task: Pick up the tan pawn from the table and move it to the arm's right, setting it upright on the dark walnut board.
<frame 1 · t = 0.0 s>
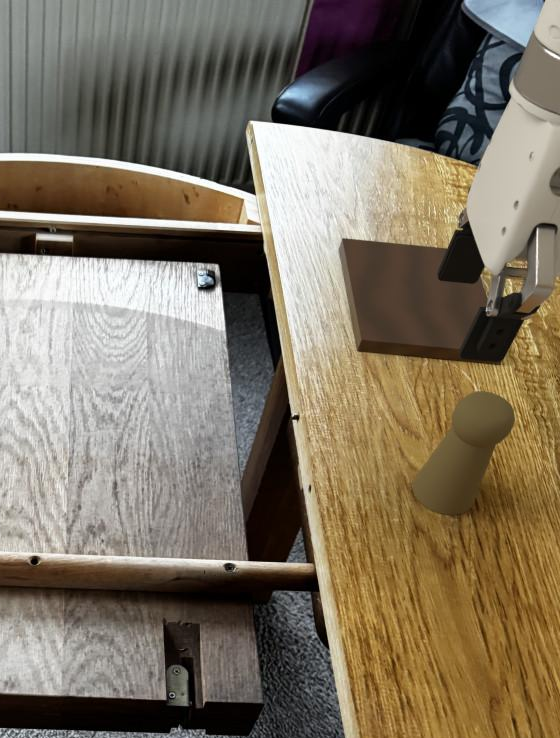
hand: (467, 317, 71), 21 cm above the table, tool pointing down, fingers open, 9 cm apart
tan pawn: (442, 493, 90), on the table
walnut board: (415, 303, 108), on the table
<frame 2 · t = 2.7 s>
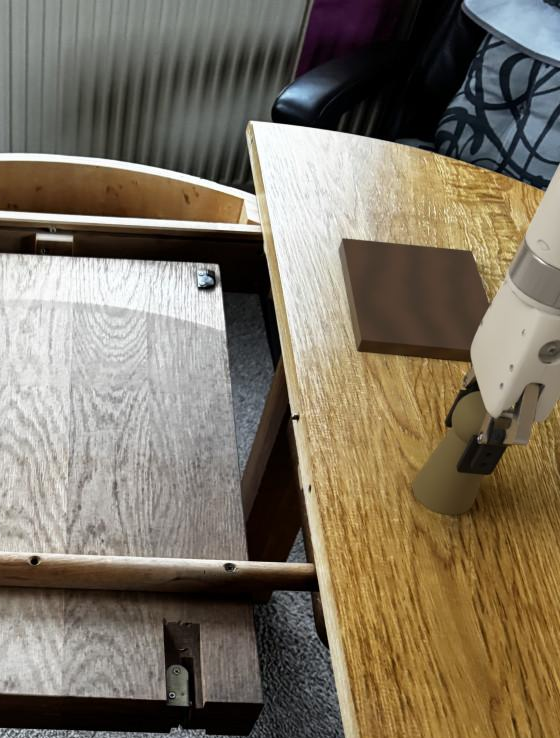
hand: (467, 447, 85), 6 cm above the table, tool pointing down, fingers closed on tan pawn, 5 cm apart
tan pawn: (442, 493, 90), on the table, touching gripper
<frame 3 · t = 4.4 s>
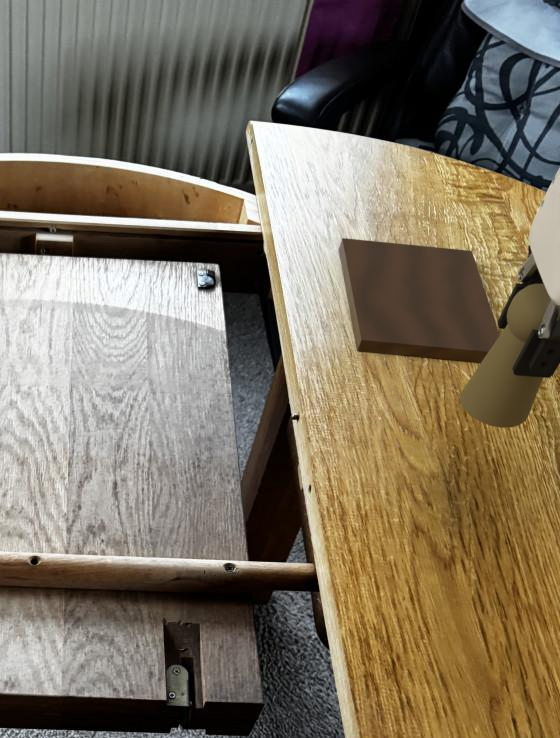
hand: (523, 348, 77), 17 cm above the table, tool pointing down, fingers closed on tan pawn, 5 cm apart
tan pawn: (493, 406, 82), point 10 cm above the table, touching gripper
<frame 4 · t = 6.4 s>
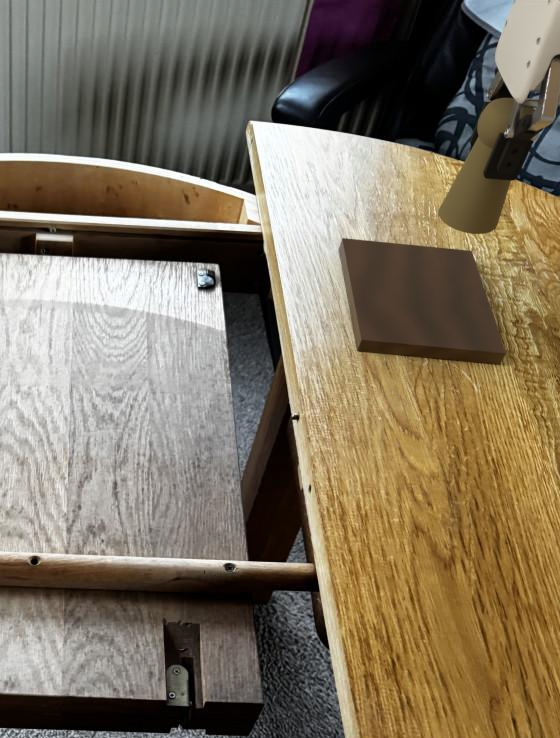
hand: (492, 160, 90), 19 cm above the table, tool pointing down, fingers closed on tan pawn, 5 cm apart
tan pawn: (466, 219, 95), point 13 cm above the table, touching gripper
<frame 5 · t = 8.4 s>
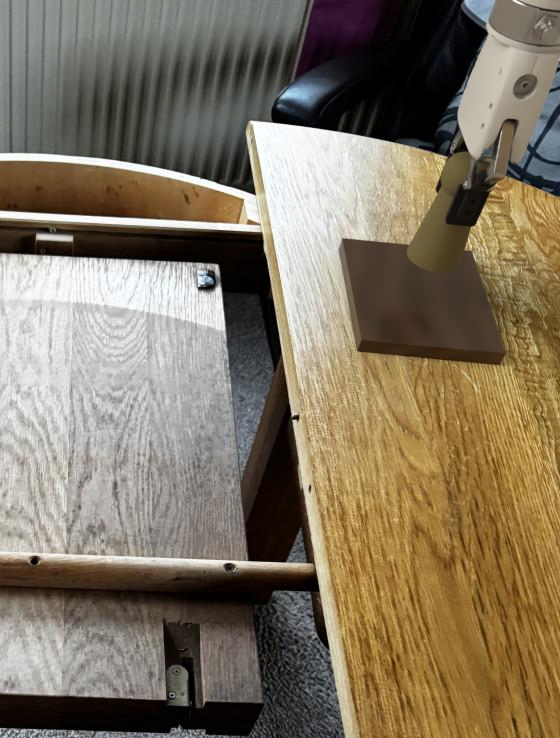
hand: (454, 206, 99), 12 cm above the table, tool pointing down, fingers closed on tan pawn, 5 cm apart
tan pawn: (432, 258, 104), point 6 cm above the table, touching gripper
when the fingers open (7 cm above the table, at t = 10.0 s): tan pawn stays where it is, resting on walnut board.
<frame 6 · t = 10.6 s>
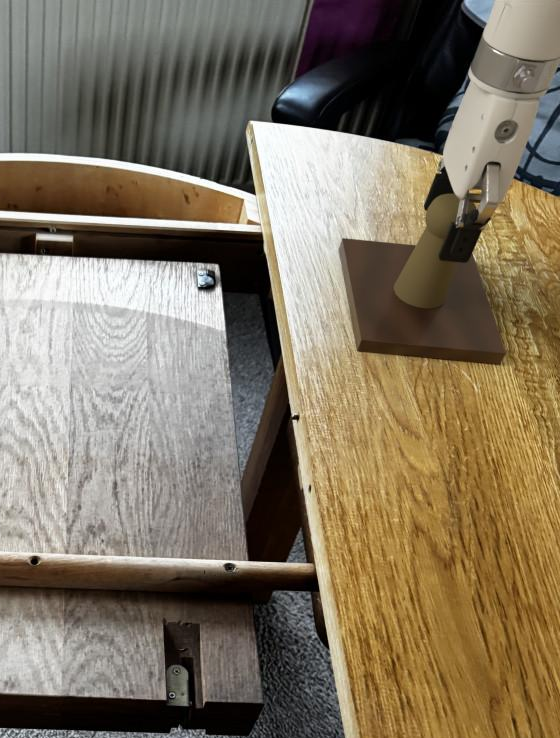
hand: (444, 234, 101), 9 cm above the table, tool pointing down, fingers open, 9 cm apart
tan pawn: (419, 294, 107), point 1 cm above the table, touching walnut board
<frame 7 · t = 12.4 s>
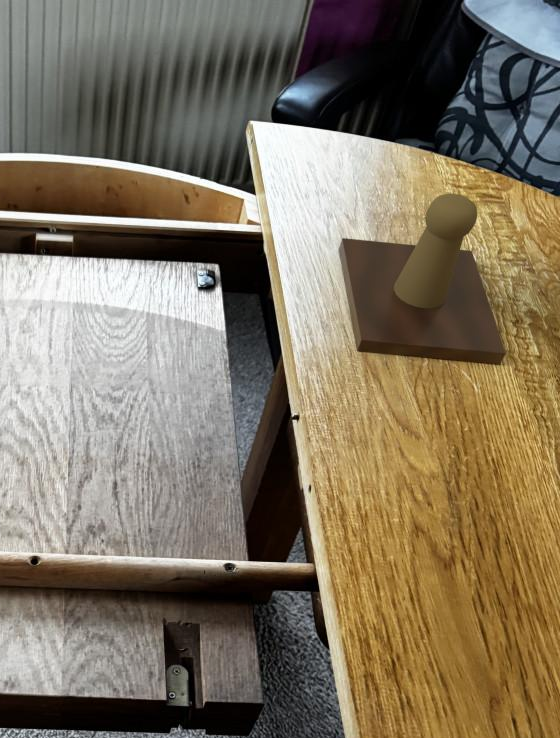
nothing on the table moved.
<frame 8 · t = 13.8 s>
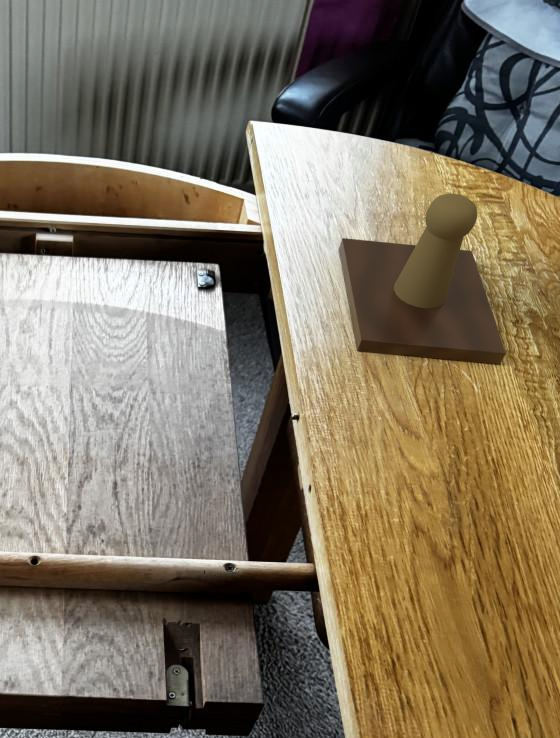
nothing on the table moved.
at the end: tan pawn inside the target area on the walnut board (0.0 cm from its centre), point 1.3 cm above the walnut board's base; tan pawn tilted 0°; the gripper is holding nothing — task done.
